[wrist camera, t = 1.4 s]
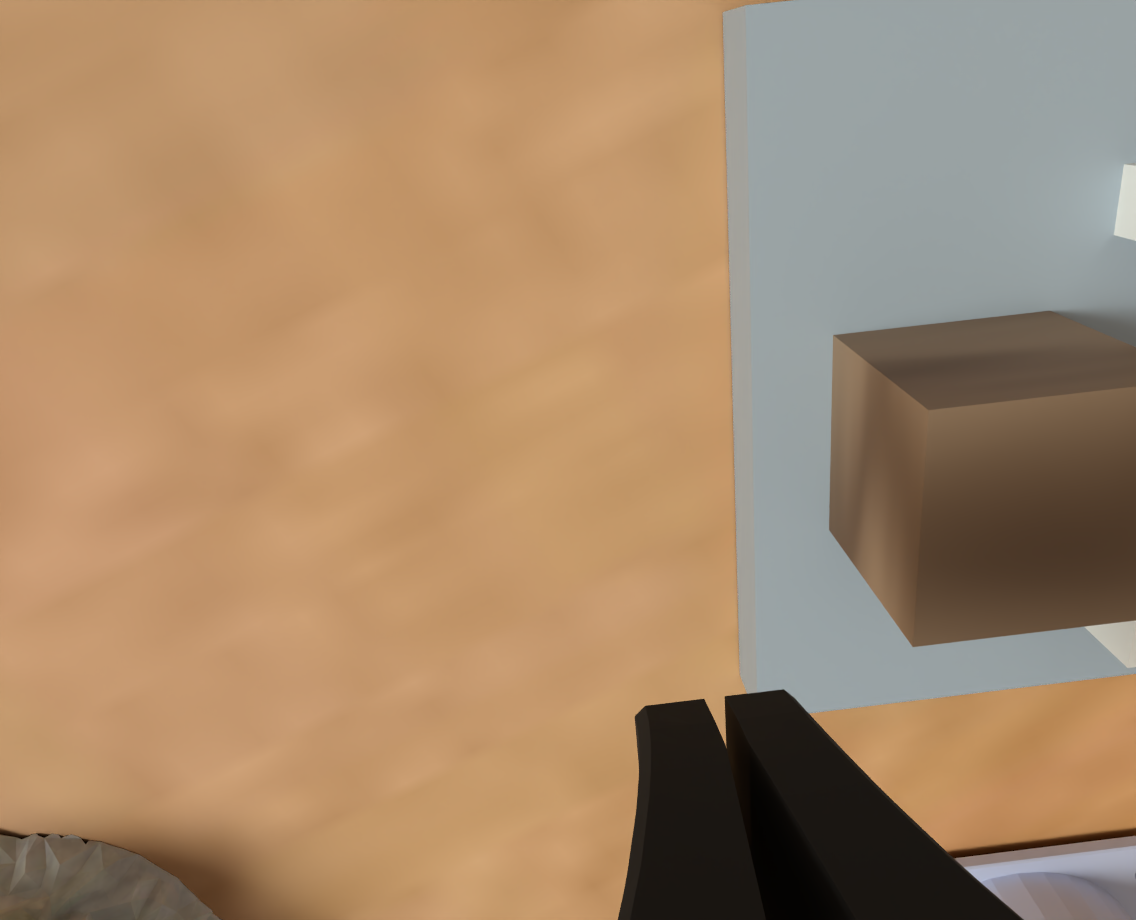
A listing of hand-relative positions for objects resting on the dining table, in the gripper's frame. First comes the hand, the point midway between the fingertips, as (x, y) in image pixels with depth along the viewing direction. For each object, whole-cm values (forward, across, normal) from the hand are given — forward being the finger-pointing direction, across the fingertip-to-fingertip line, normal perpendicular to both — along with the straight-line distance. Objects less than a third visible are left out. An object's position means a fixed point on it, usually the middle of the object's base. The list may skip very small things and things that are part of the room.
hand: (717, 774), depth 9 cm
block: (+8, -6, 0) cm, 10 cm away
